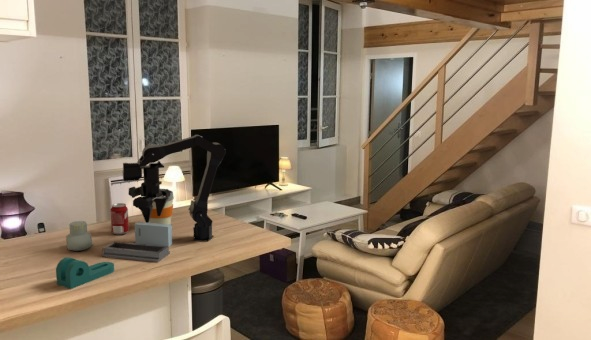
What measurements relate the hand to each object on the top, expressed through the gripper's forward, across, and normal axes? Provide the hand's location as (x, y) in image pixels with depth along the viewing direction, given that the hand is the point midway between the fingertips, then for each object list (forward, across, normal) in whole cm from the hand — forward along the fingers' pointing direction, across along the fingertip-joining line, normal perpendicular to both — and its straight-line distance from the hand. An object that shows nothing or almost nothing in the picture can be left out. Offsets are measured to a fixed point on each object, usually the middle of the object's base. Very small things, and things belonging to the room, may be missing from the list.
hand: (153, 219), depth 190 cm
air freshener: (+10, +12, -24) cm, 29 cm away
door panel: (+10, 0, 0) cm, 10 cm away
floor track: (+10, +13, 0) cm, 16 cm away
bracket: (+10, +35, -4) cm, 37 cm away
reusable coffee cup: (+10, -22, -9) cm, 26 cm away
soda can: (+10, -9, -20) cm, 24 cm away
